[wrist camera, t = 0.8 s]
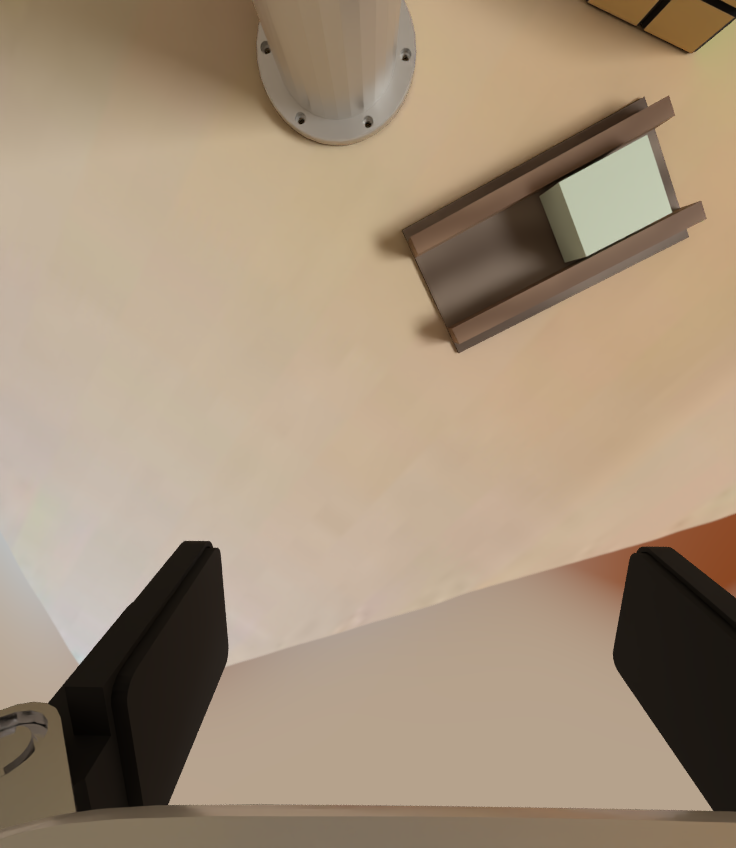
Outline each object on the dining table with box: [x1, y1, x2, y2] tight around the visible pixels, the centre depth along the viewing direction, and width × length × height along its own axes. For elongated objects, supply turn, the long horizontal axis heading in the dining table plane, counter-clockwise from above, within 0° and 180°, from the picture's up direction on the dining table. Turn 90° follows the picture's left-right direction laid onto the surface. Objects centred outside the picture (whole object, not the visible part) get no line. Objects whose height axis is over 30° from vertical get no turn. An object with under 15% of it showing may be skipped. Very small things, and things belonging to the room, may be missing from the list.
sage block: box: [539, 135, 672, 262], centre depth 35 cm, size 6×7×4 cm
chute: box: [402, 96, 707, 353], centre depth 37 cm, size 12×22×3 cm, turn 117°
